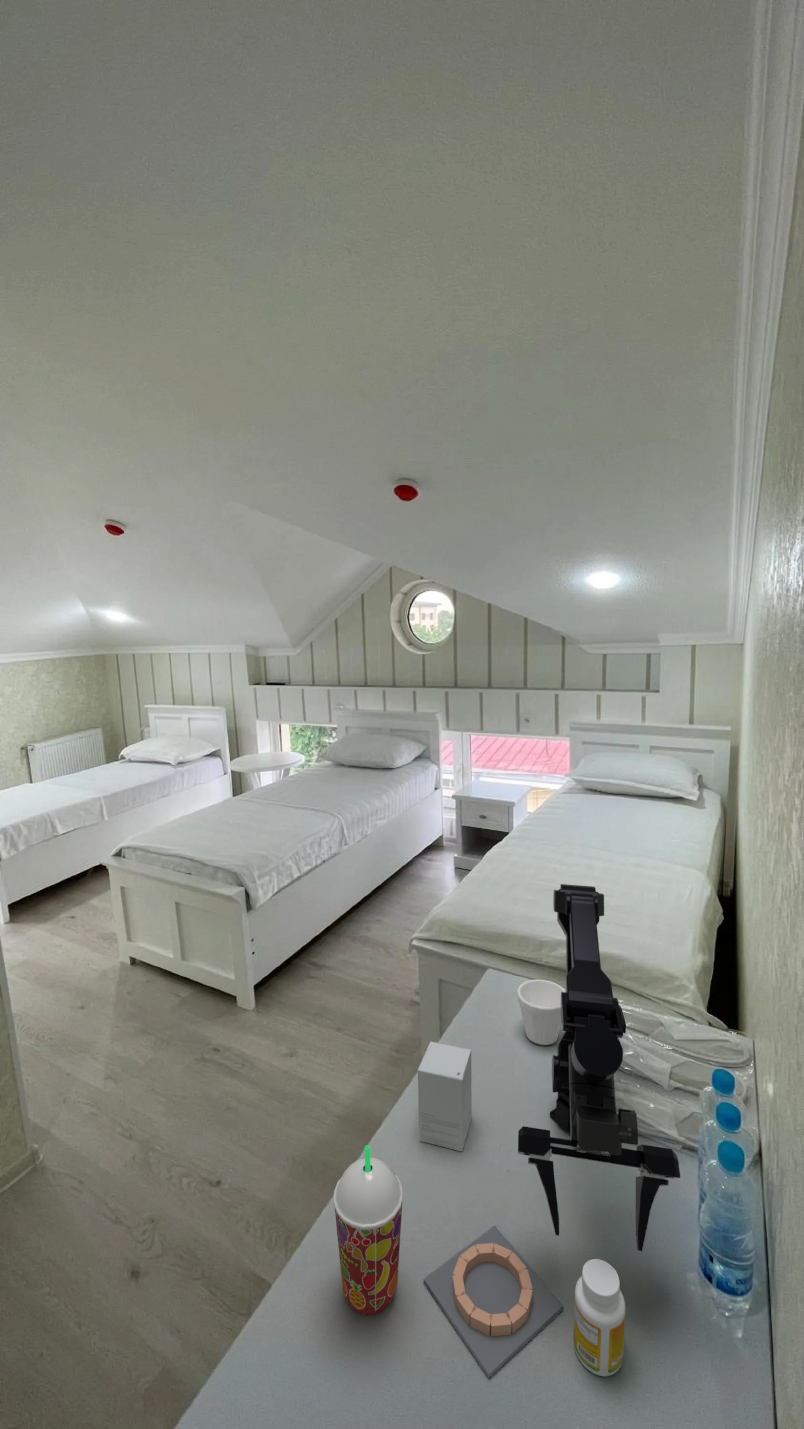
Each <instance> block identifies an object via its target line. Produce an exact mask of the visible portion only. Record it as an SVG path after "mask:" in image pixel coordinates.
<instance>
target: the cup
mask: <svg viewBox="0 0 804 1429" xmlns="http://www.w3.org/2000/svg"><path fill="white" fill-rule="evenodd" d="M518 986H519V987H518V988H517V989H516V993H517V994H516V996H517V1001H518V1005H519V1009H520V1012H521V1016H522V1017H521V1018H522V1022H523V1026H524V1032H525V1035H526V1037H527V1039H528V1040H529V1041H530V1042H531V1043H533V1044H535V1045H537V1046H543V1047H548V1046H552V1045H554V1044H555V1043H556V1042H557V1041H558V1038H559V1034H560V1030H561V1028H562V1022H561V992H565V989H564V988H563V987H562V985H560V984H557V983H555V982H554V981H550V980H546V979H531V980H526V981H524V982H523V983H521V984H520V985H518Z"/></svg>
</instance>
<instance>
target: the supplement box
mask: <svg viewBox="0 0 804 1429" xmlns="http://www.w3.org/2000/svg"><path fill="white" fill-rule="evenodd" d="M472 1078H473V1077H472V1049H468V1048H464V1047H459V1046H454V1045H449V1044H445V1043H444V1044H443V1043H439V1042H435V1041H430V1042H429V1044H428V1046H427V1049H426V1050H425V1053H424V1055H423V1057H422V1059H421V1062H420V1064H419V1066H418V1068H417V1086H418V1088H417V1089H418V1090H417V1091H418V1092H417V1094H418V1096H417V1098H418V1103H417V1104H418V1134H419V1136H418V1137H419V1142H422V1143H427V1144H431V1145H435V1146H439V1147H443V1148H446V1149H451V1150H454V1151H457V1152H463V1150H464V1147H465V1143H466V1140H467V1135H468V1133H469V1128H470V1125H471V1122H472V1118H473V1113H472V1111H473V1110H472V1107H473V1106H472V1101H473V1100H472Z"/></svg>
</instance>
